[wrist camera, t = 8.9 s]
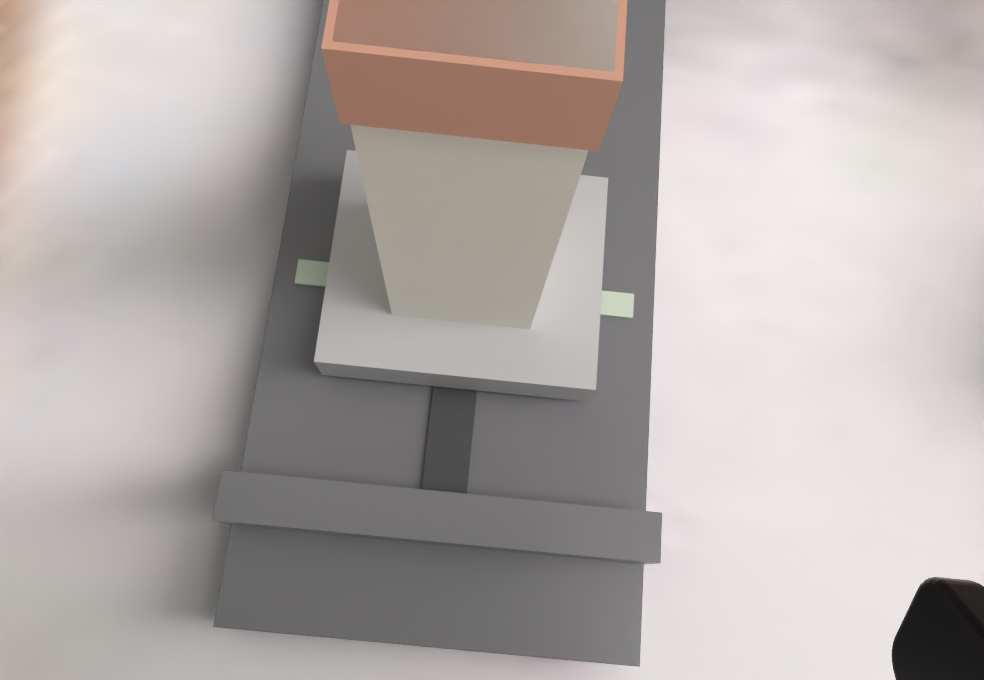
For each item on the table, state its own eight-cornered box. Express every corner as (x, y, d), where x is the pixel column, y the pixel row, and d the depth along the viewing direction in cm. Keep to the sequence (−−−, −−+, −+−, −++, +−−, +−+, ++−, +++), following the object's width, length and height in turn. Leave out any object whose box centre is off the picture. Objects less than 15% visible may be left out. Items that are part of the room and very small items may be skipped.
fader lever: (586, 401, 19) (753, 188, 9) (322, 375, 19) (166, 127, 8) (599, 200, 20) (755, -191, 10) (352, 174, 20) (251, -249, 10)
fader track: (625, 659, 19) (656, 674, 16) (231, 622, 19) (192, 631, 16) (658, -113, 25) (685, -202, 22) (362, -147, 25) (350, -242, 22)
